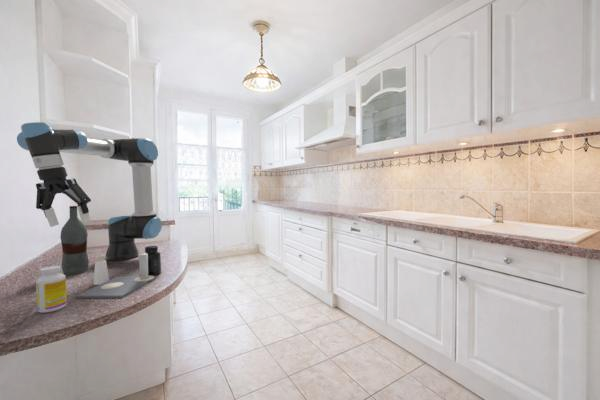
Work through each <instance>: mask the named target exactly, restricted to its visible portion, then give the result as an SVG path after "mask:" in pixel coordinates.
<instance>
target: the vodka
mask: <svg viewBox="0 0 600 400" xmlns="http://www.w3.org/2000/svg"><path fill="white" fill-rule="evenodd" d="M77 206H78V205H70V206H69V218H68V219H67V222H66V223H65V224H64V225H63V226H62V228H61V229H60V230H61V231H60V237H59V238H60V242H61V251H62V259H61V265H60V266H61V271H62V274H64V275H65V276H66V275H67V276H68V275H77V274H81V273H85V272H87V271H88V269H89V262H90V261H89V256H88V252H87V251H88V250H87V248H88V235H89V234H88V229H87V227H86V225H85V223H82V220H81V219H79V217H78V215H79V214H78V208H77Z"/></svg>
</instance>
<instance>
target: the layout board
mask: <svg viewBox="0 0 600 400" xmlns="http://www.w3.org/2000/svg"><path fill="white" fill-rule="evenodd" d="M138 254H139V253H138ZM138 261H139V262H138V263H139V264H138V265H139V266H138V267H139V276H138V275H137V276H135V275H134V276H133V275H132V276H130V275H129V276H128V275H127V276H124V275H123V276H116V277H114V278H113V277H112V279H109V281H107V282H105V283H102V284H100V285H95V286H94V287H91V288H90V289H87V290H85V291H82V292H81V293H78V294H77V295H75V299H123V298H124V297H126V296H128V295H129V294H131V293H133V292H135V291H136V290H138V289H140V288H141V287H143V286H144V285H147V284H148V283H151V281H153V280H155V279H156V278H157V277H156V275H152V276H151V275H148V254H147V253H146V252H143V253H140V254H139V255H138Z"/></svg>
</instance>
